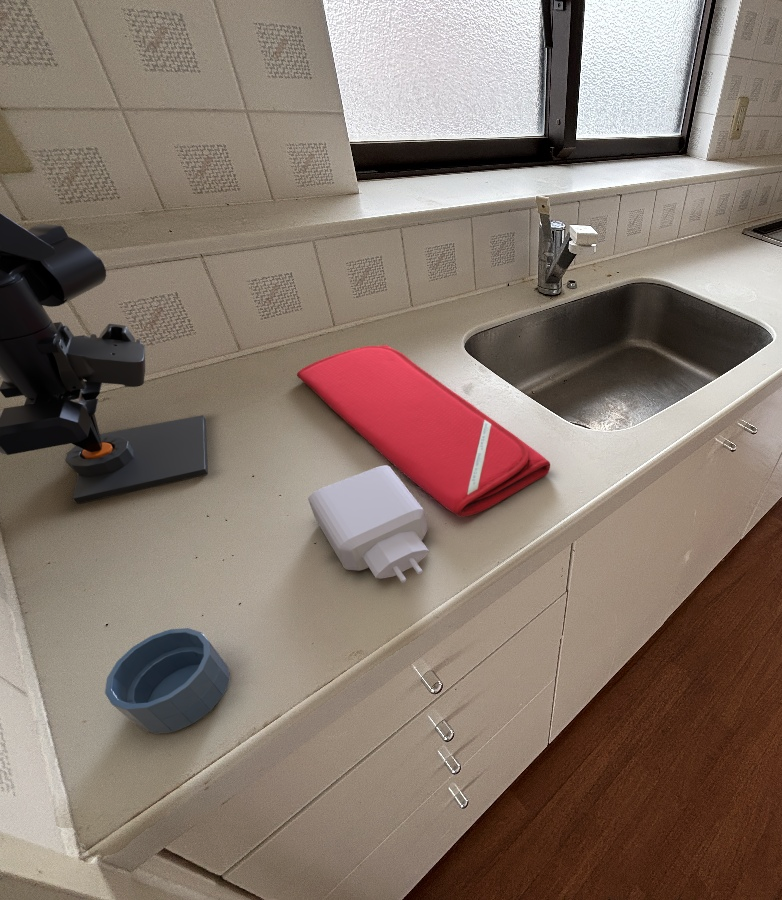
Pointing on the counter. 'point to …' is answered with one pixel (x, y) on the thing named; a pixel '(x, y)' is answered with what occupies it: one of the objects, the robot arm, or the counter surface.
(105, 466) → the scale
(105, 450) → the tare button
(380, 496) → the charger
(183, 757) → the counter surface
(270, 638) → the counter surface
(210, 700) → the bowl
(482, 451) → the dish drying mat
